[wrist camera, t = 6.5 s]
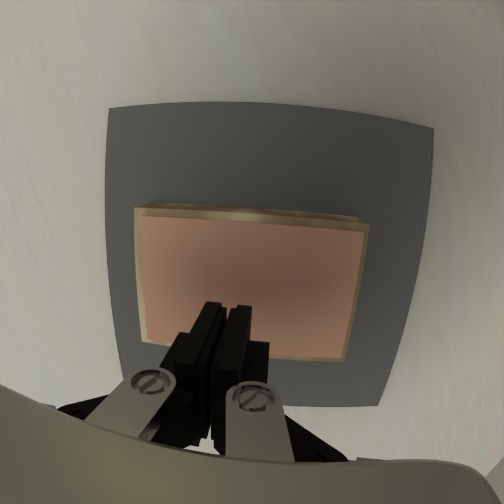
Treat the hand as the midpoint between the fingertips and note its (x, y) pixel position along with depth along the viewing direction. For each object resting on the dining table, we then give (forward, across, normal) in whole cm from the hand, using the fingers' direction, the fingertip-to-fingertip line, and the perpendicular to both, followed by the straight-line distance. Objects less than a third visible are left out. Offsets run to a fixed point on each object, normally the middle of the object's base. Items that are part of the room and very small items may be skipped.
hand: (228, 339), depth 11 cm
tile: (+6, +6, 0) cm, 9 cm away
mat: (+8, -1, 0) cm, 8 cm away
